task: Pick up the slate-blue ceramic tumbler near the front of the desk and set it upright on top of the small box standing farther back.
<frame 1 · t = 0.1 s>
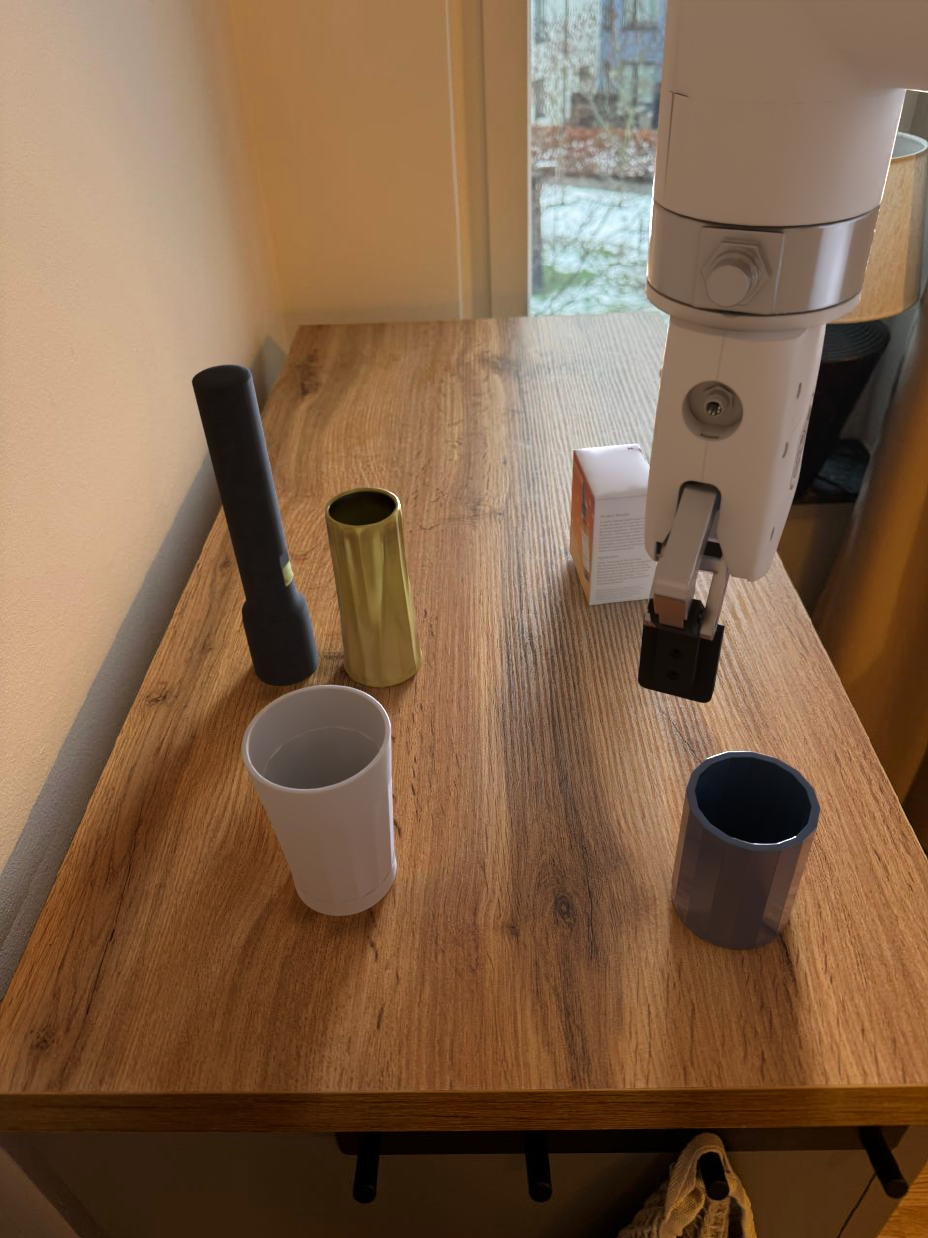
hand: (700, 624, 43), 19 cm above the cabinet, tool pointing down, fingers open, 9 cm apart
cup: (345, 873, 57), on the cabinet
flashlight: (287, 666, 72), on the cabinet
vase: (383, 664, 72), on the cabinet
small box: (609, 577, 79), on the cabinet
tumbler: (729, 898, 54), on the cabinet
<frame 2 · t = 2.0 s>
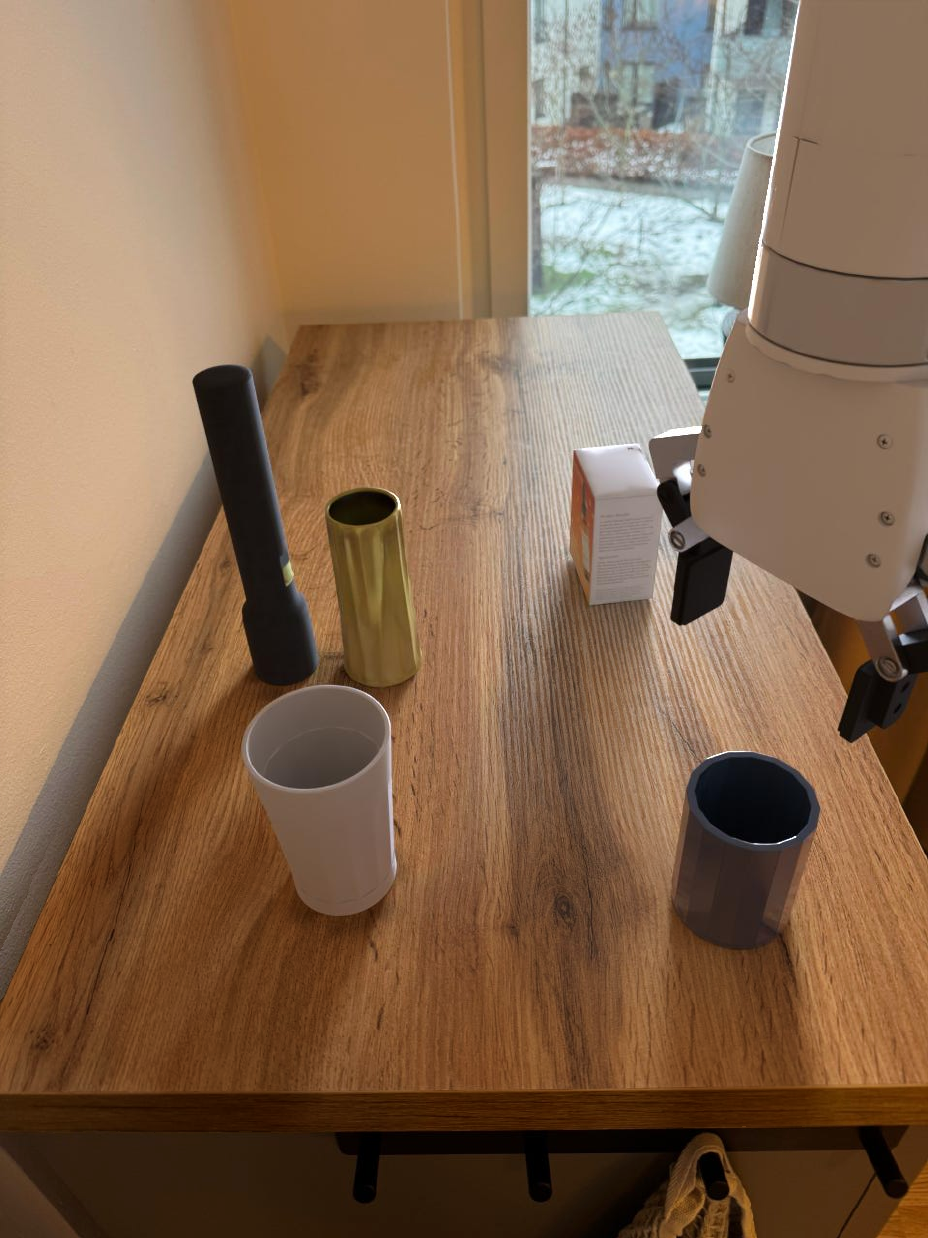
hand: (774, 665, 42), 18 cm above the cabinet, tool pointing down, fingers open, 9 cm apart
nothing on the cabinet moved.
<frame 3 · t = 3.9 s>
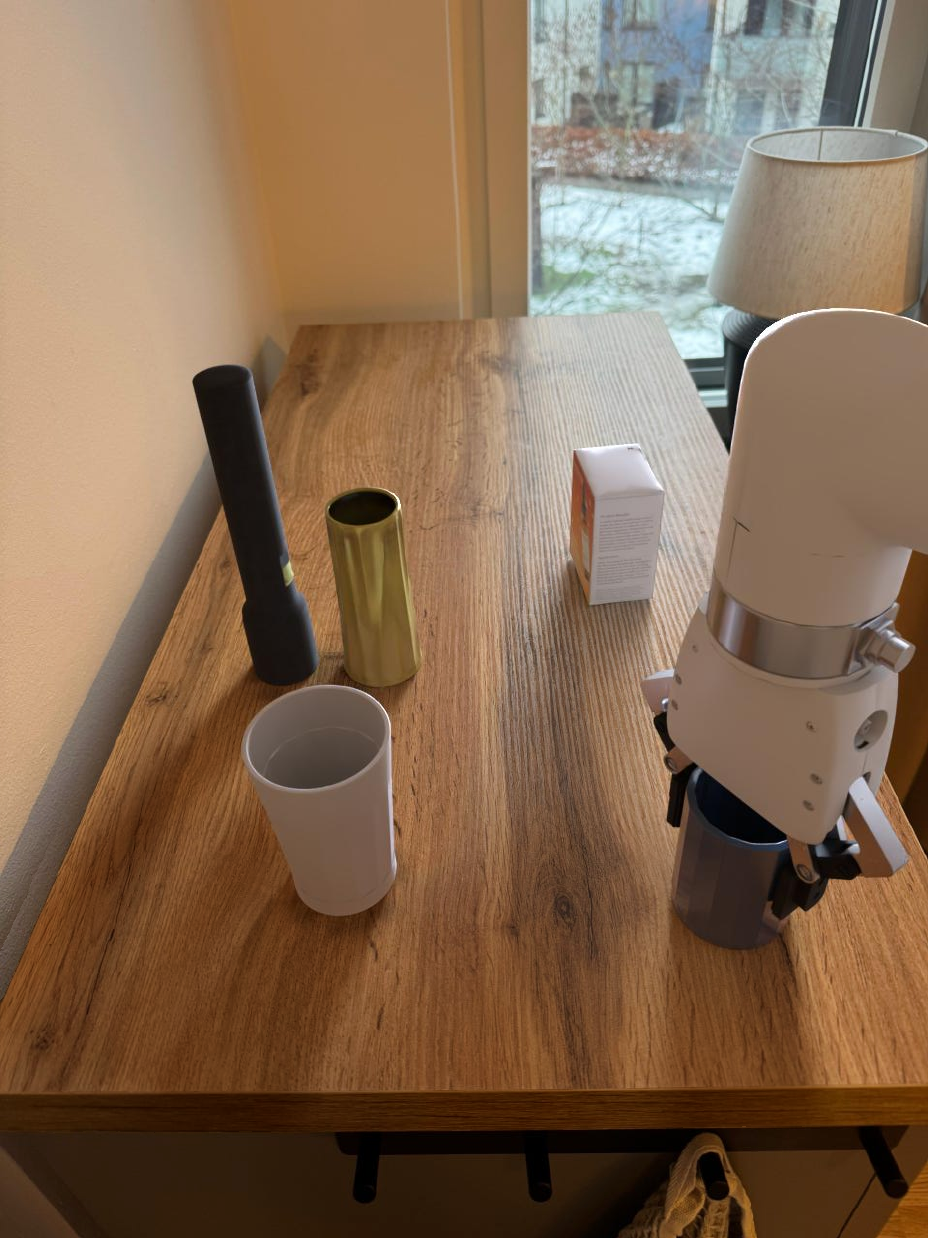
hand: (739, 854, 51), 4 cm above the cabinet, tool pointing down, fingers closed on tumbler, 6 cm apart
tumbler: (729, 898, 54), on the cabinet, touching gripper
everything else where it was.
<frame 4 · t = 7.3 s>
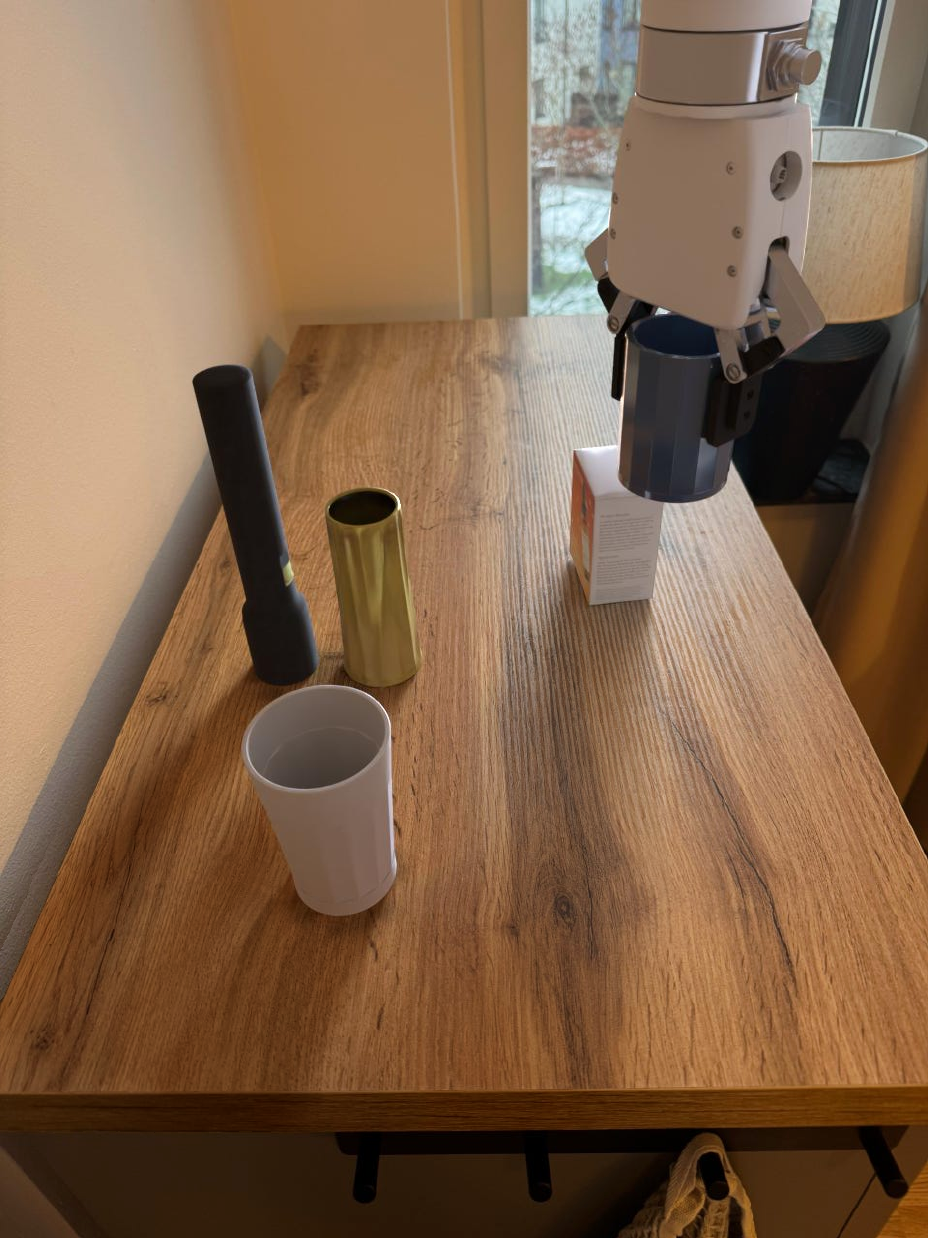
hand: (678, 412, 54), 22 cm above the cabinet, tool pointing down, fingers closed on tumbler, 6 cm apart
tumbler: (671, 474, 57), point 18 cm above the cabinet, touching gripper
everything else where it was.
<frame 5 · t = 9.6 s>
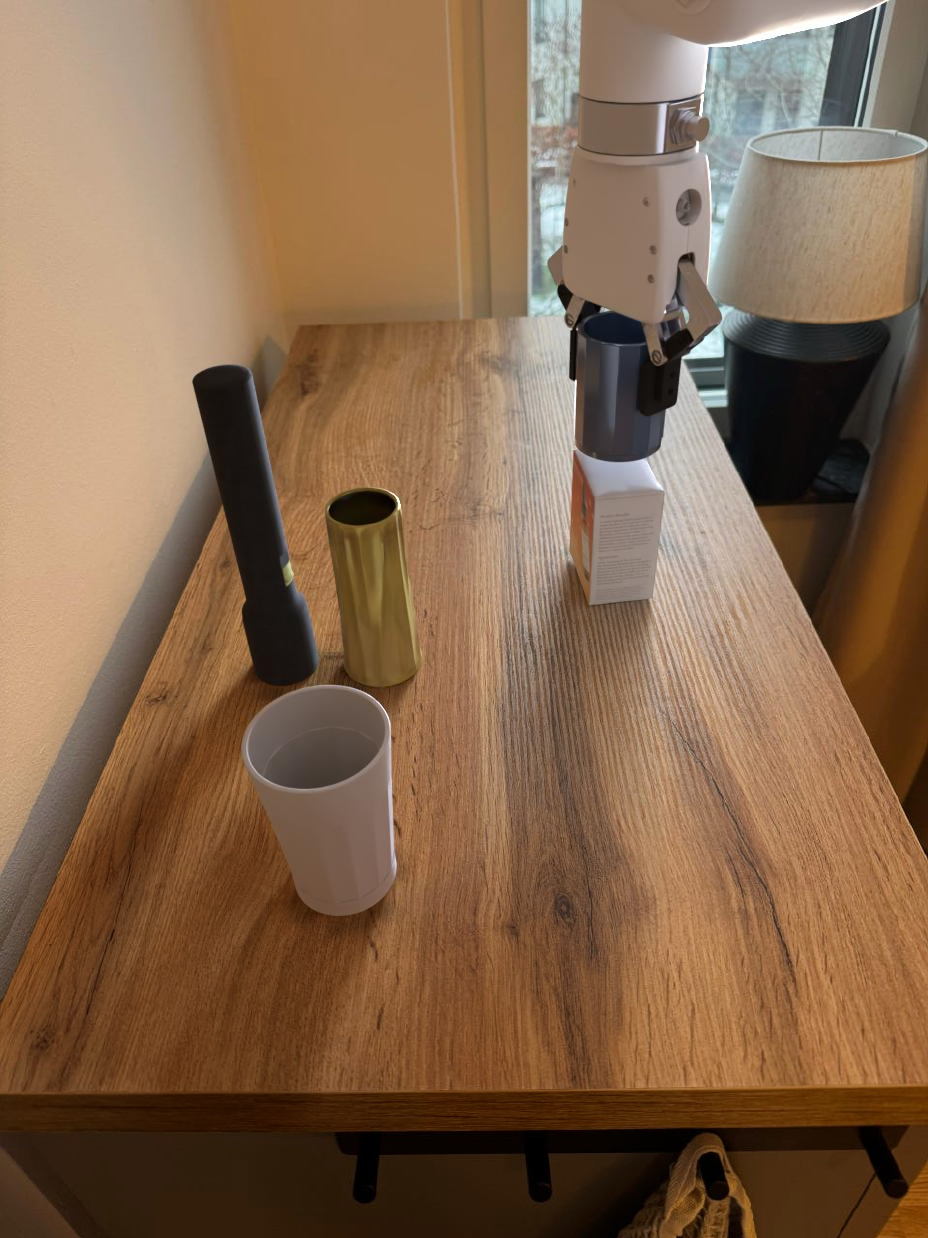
hand: (621, 390, 68), 17 cm above the cabinet, tool pointing down, fingers closed on tumbler, 6 cm apart
tumbler: (617, 440, 71), point 13 cm above the cabinet, touching gripper
everything else where it was.
when the fingers open (15 cm above the cabinet, at t = 10.9 s): tumbler stays where it is, resting on small box.
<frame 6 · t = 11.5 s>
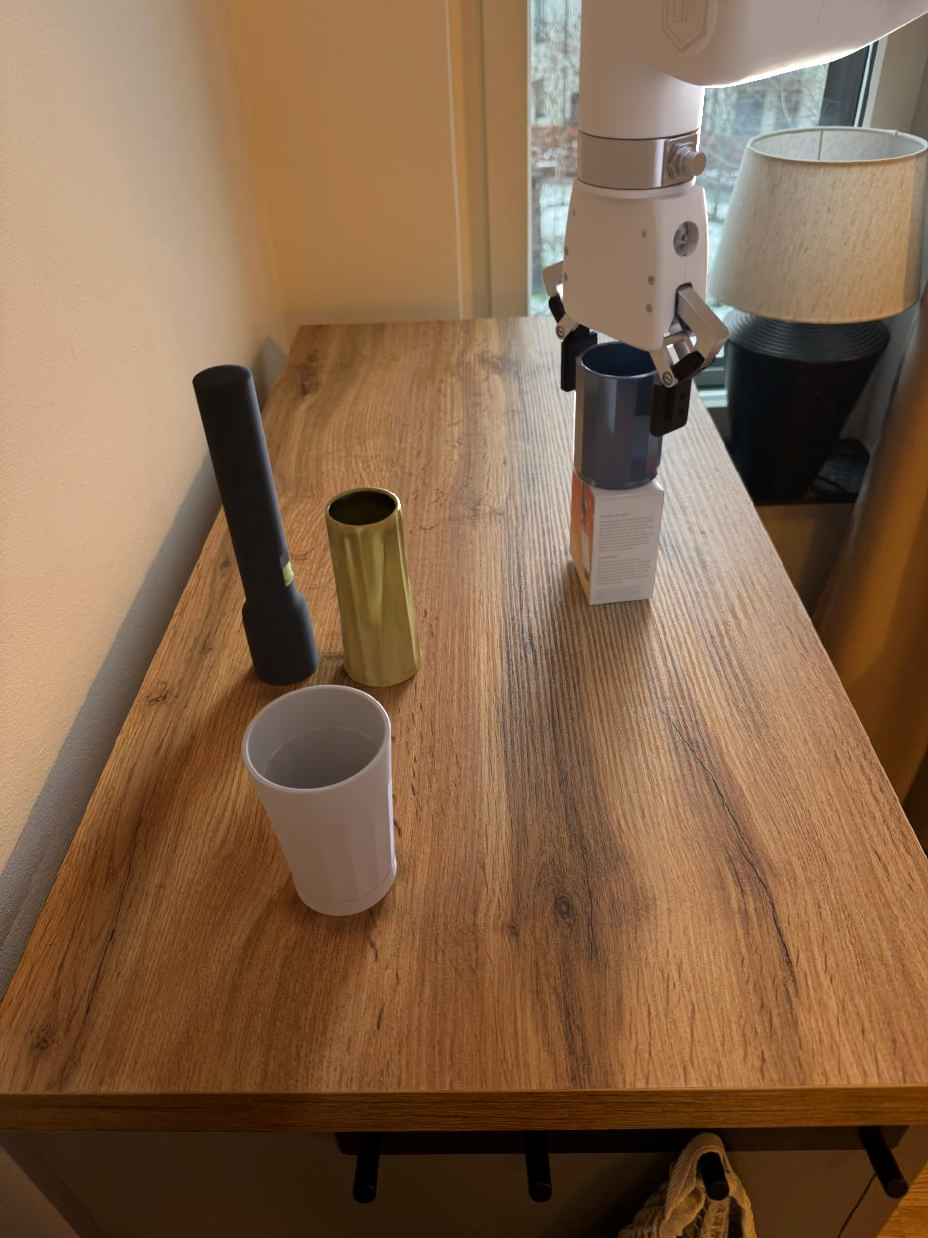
hand: (621, 407, 69), 16 cm above the cabinet, tool pointing down, fingers open, 9 cm apart
small box: (609, 577, 79), on the cabinet, touching tumbler
tumbler: (615, 467, 72), point 11 cm above the cabinet, touching small box
everything else where it was.
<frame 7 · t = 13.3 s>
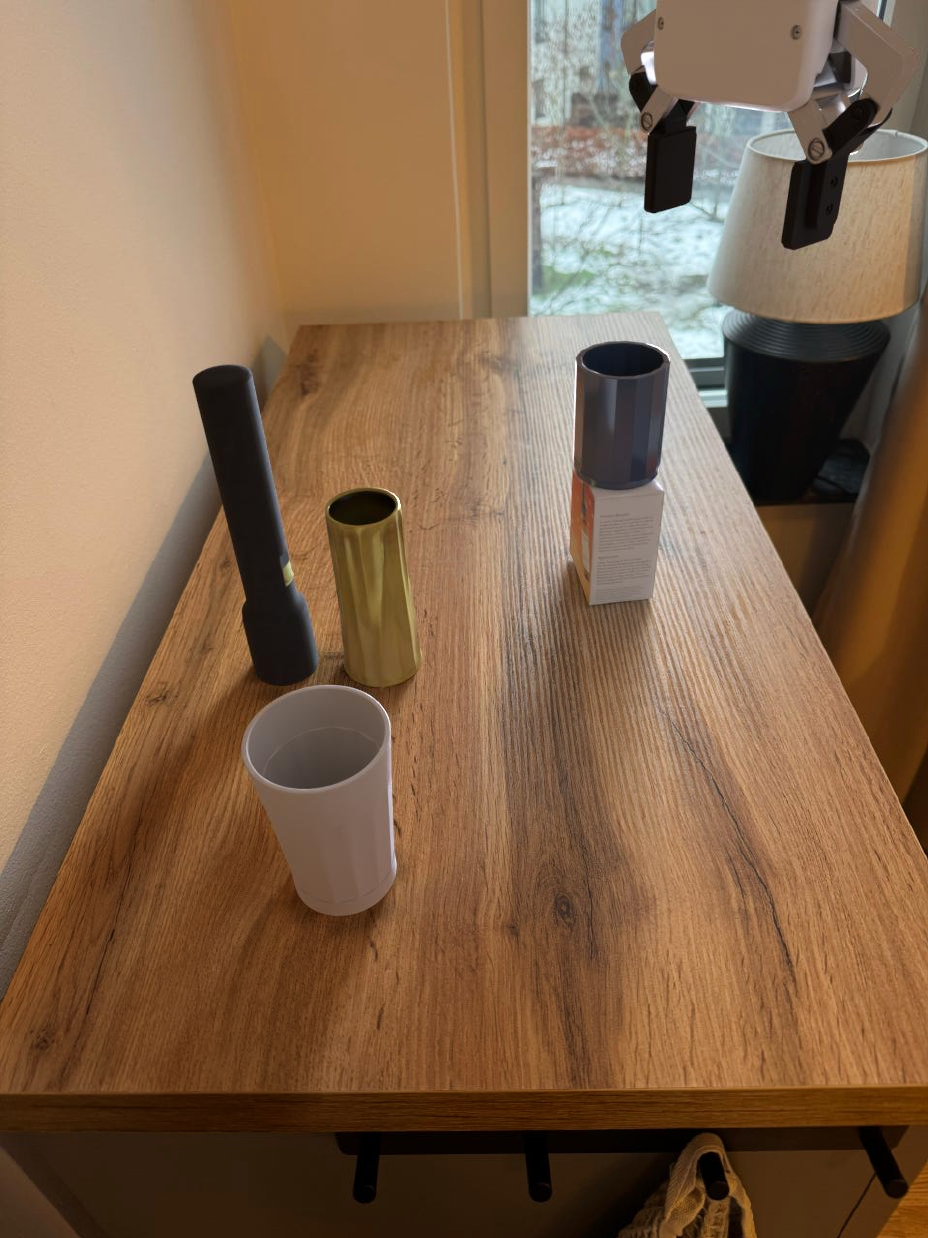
hand: (732, 224, 49), 32 cm above the cabinet, tool pointing down, fingers open, 9 cm apart
nothing on the cabinet moved.
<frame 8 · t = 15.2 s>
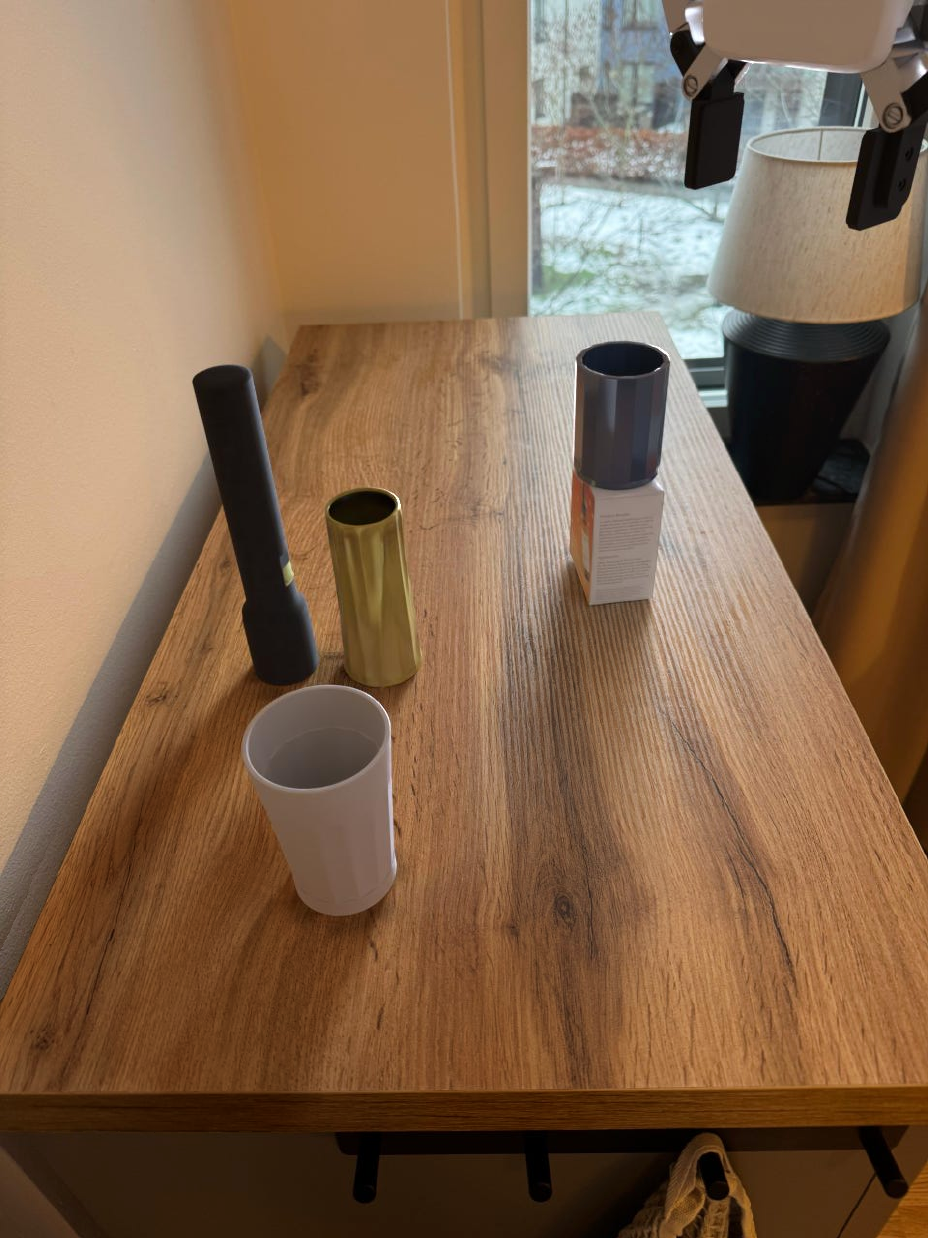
hand: (784, 202, 44), 34 cm above the cabinet, tool pointing down, fingers open, 9 cm apart
nothing on the cabinet moved.
at the end: tumbler 0.1 cm off-centre on the small box, point 10.7 cm above the small box's base; tumbler tilted 0°; small box tilted 0° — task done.
